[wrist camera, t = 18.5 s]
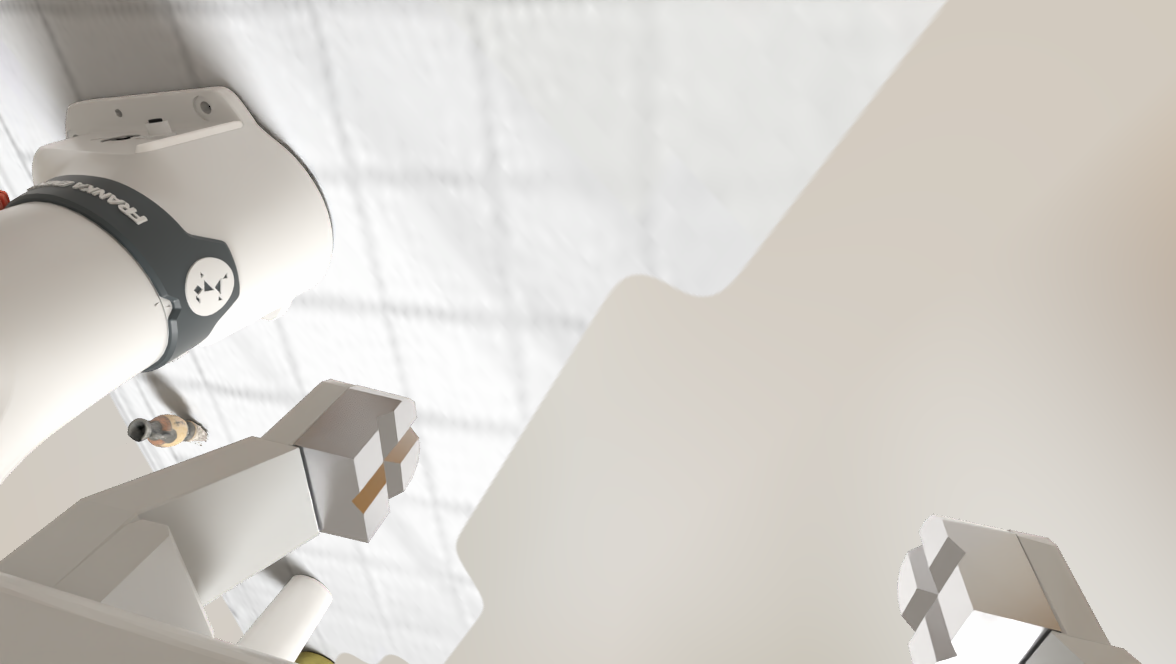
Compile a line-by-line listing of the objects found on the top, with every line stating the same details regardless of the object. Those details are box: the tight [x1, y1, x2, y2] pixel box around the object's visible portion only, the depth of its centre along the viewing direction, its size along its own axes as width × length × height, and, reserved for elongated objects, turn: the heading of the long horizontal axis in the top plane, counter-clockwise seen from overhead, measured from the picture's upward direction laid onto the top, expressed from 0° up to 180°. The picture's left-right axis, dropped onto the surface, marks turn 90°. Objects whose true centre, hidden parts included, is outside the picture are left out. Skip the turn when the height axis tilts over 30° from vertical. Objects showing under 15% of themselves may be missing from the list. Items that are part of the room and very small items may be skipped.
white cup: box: [236, 575, 332, 662], centre depth 70 cm, size 7×7×10 cm
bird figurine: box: [128, 412, 207, 447], centre depth 60 cm, size 5×5×6 cm
